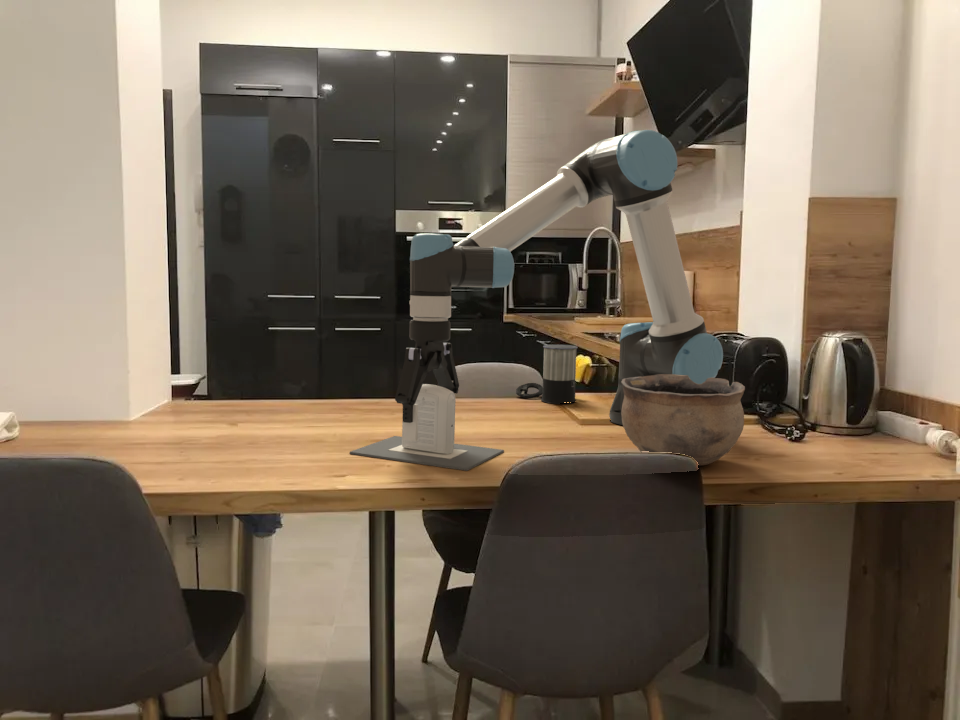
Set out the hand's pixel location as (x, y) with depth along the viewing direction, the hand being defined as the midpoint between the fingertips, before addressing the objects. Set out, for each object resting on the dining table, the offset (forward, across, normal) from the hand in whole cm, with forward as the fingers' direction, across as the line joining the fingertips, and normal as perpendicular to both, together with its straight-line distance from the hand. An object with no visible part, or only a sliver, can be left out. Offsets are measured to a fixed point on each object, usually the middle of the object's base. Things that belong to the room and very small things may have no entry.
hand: (428, 433), depth 145 cm
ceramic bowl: (+4, -17, +43) cm, 46 cm away
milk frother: (+4, -69, -2) cm, 70 cm away
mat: (+4, 0, 0) cm, 4 cm away
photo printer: (+3, 0, 0) cm, 3 cm away
